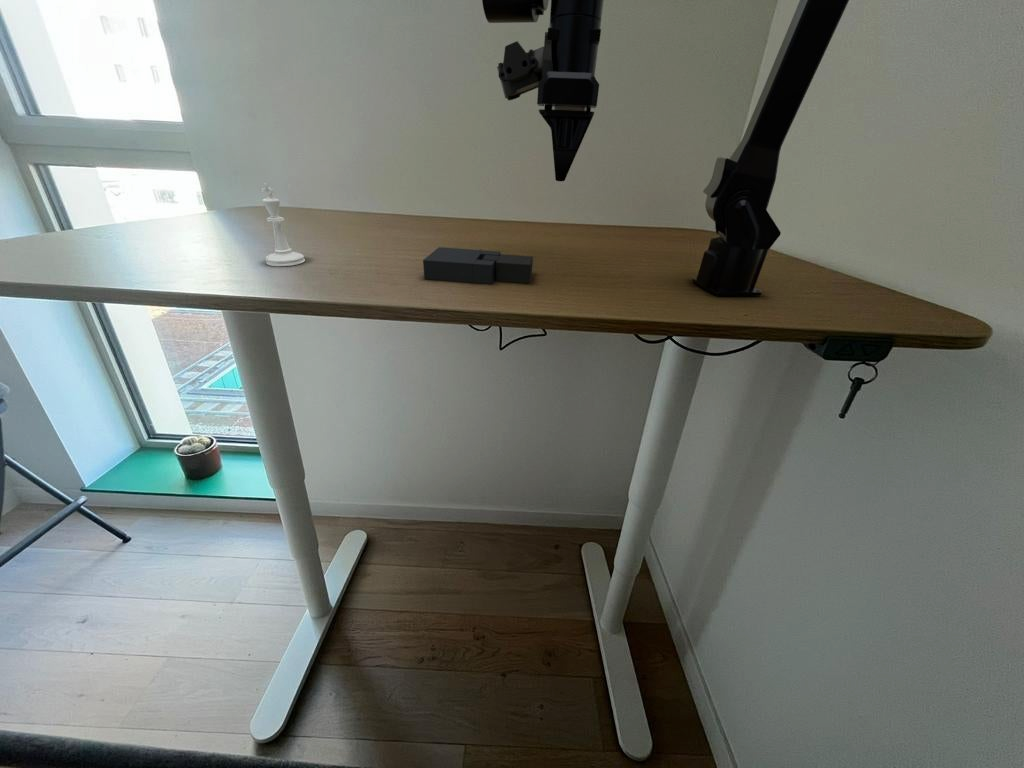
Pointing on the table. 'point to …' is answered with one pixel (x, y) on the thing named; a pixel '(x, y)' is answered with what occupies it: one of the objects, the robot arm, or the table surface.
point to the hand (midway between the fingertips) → (560, 178)
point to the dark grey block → (512, 268)
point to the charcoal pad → (460, 265)
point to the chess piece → (279, 234)
